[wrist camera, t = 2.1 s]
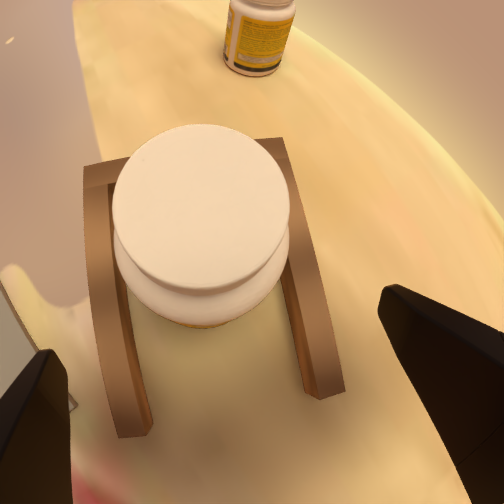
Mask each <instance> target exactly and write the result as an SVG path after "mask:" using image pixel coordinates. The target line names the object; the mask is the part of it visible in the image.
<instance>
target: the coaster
mask: <svg viewBox="0 0 504 504" xmlns="http://www.w3.org/2000/svg"><path fill="white" fill-rule="evenodd" d="M38 351H39V350H38V348H37V347H36V345H35V343H34V342H33V340H32V338H31V337H30V335H29V334H28V332H27V330H26V328H25V327H24V325H23V323H22V322H21V320H20V318H19V316H18V314H17V313H16V311H15V309H14V307H13V305H12V303H11V301H10V300H9V298H8V296H7V294H6V292H5V290H4V288H3V286H2V284H1V282H0V398H1V397H2V396H3V394H4V393H5V392H6V390H7V389H8V388H9V386H10V385H11V384H12V382H13V381H14V380H15V379H16V377H17V376H18V375H19V374H20V372H21V371H22V370H23V369H24V367H25V366H26V365H27V364H28V362H29V361H30V360H31V359H32V357H33V356H34V355H35V354H36V353H37V352H38ZM68 398H69V412H70V411H72V410H73V409H74V408H75V407H76V406H78V405H77V403H76V402H75V401H74V399H73V398H72V397H71V396H70V394H69V393H68Z"/></svg>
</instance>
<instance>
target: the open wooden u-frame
mask: <svg viewBox="0 0 504 504" xmlns="http://www.w3.org/2000/svg"><path fill="white" fill-rule="evenodd" d="M254 140H255V141H256V142H257V143H258V144H260V145H261V146H262V147H263V148H264V149H265V150H266V151H267V152H268V153H269V154H270V155H271V156H272V157H273V159H274V160H275V161H276V163H277V164H278V166H279V168H280V170H281V172H282V174H283V176H284V178H285V181H286V183H287V188H288V192H289V201H290V213H289V221H288V227H289V250H288V256H287V260H286V263H285V266H284V269H283V272H282V274H281V276H280V279H281V283H282V288H283V292H284V296H285V301H286V305H287V310H288V314H289V319H290V323H291V328H292V333H293V337H294V342H295V346H296V351H297V356H298V360H299V365H300V370H301V375H302V379H303V384H304V389H305V393H307V394H309V395H311V396H313V397H315V398H317V399H319V400H321V399H324V398H327V397H330V396H333V395H336V394H339V393H342V392H345V386H344V381H343V376H342V370H341V365H340V361H339V356H338V351H337V346H336V341H335V337H334V332H333V327H332V323H331V318H330V314H329V309H328V305H327V301H326V296H325V292H324V288H323V284H322V280H321V276H320V271H319V267H318V263H317V259H316V255H315V251H314V248H313V244H312V240H311V236H310V232H309V228H308V225H307V221H306V217H305V213H304V210H303V206H302V203H301V199H300V195H299V192H298V188H297V185H296V181H295V178H294V174H293V171H292V168H291V164H290V161H289V157H288V154H287V151H286V148H285V144H284V141H283V138H282V137H279V138H266V139H254ZM129 158H130V157H126V158H121V159H116V160H111V161H106V162H102V163H97V164H93V165H89V166H84V175H83V202H84V203H83V204H84V205H83V206H84V236H85V252H86V265H87V276H88V286H89V295H90V303H91V311H92V318H93V325H94V331H95V338H96V343H97V349H98V355H99V360H100V365H101V370H102V375H103V379H104V384H105V388H106V393H107V397H108V401H109V405H110V409H111V413H112V417H113V420H114V424H115V427H116V431H117V434H118V438H128V437H139V436H146V435H147V433H148V432H149V430H150V428H151V427H152V425H153V421H152V417H151V413H150V409H149V405H148V401H147V397H146V393H145V389H144V384H143V380H142V375H141V371H140V366H139V361H138V356H137V351H136V346H135V341H134V335H133V330H132V324H131V318H130V312H129V305H128V298H127V291H126V284H125V281H124V279H123V277H122V275H121V272H120V270H119V267H118V265H117V261H116V257H115V251H114V228H115V227H114V222H113V214H112V201H113V194H114V190H115V186H116V182H117V180H118V177H119V175H120V173H121V171H122V169H123V167H124V166H125V164H126V162H127V161H128V160H129Z"/></svg>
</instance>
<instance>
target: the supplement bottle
mask: <svg viewBox="0 0 504 504" xmlns="http://www.w3.org/2000/svg"><path fill="white" fill-rule="evenodd" d="M295 11H296V9H295V4H294V3H293V0H230V4H229V12H228V20H227V28H226V37H225V45H224V60H225V62H226V64H227V65H228V66H229V67H230V68H231V69H233V70H235V71H236V72H238V73H241V74H244V75H248V76H263V75H267V74H270V73H272V72H273V71H275V70H276V69H277V68H278V66H279V64H280V62H281V58H282V55H283V51H284V48H285V45H286V41H287V38H288V35H289V32H290V28H291V25H292V22H293V19H294V16H295Z"/></svg>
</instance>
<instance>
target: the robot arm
mask: <svg viewBox="0 0 504 504" xmlns="http://www.w3.org/2000/svg"><path fill="white" fill-rule="evenodd" d="M378 316H379V318H380V321H381V323H382V325H383V327H384V329H385V331H386V334H387V336H388V338H389V340H390V342H391V345H392V347H393V349H394V351H395V354H396V356H397V358H398V360H399V361H400V363H401V365H402V367H403V369H404V370H405V372H406V374H407V376H408V378H409V379H410V381H411V383H412V385H413V386H414V388H415V390H416V392H417V394H418V396H419V397H420V399H421V401H422V403H423V405H424V407H425V408H426V410H427V412H428V414H429V416H430V418H431V420H432V422H433V424H434V426H435V427H436V429H437V431H438V433H439V435H440V437H441V439H442V441H443V443H444V445H445V447H446V449H447V451H448V453H449V455H450V457H451V459H452V461H453V463H454V465H455V467H456V470H457V472H458V474H459V476H460V479H461V481H462V483H463V485H464V487H465V489H466V492H467V494H468V496H469V498H470V500H471V503H472V504H503V503H504V333H503V332H501V331H498V330H497V329H494V328H492V327H490V326H488V325H486V324H484V323H482V322H480V321H477V320H475V319H473V318H471V317H469V316H467V315H465V314H462V313H460V312H458V311H456V310H454V309H452V308H449V307H447V306H445V305H443V304H441V303H439V302H436V301H434V300H432V299H430V298H428V297H425V296H423V295H421V294H419V293H416V292H414V291H412V290H410V289H408V288H405V287H403V286H401V285H398V284H393V285H389V286H386V287H384V288H383V290H382V293H381V297H380V301H379V305H378ZM0 504H73V498H72V483H71V456H70V414H69V398H68V376H67V372H66V369H65V367H64V366H63V364H62V363H61V361H60V359H59V358H58V356H57V355H56V353H55V352H54V351H53V350H52V349H44V350H39V351H38V352H37V353H36V354H35V355H34V356H33V357H32V359H31V360H30V361H29V362H28V364H27V365H26V366H25V367H24V369H23V370H22V371H21V372H20V374H19V375H18V376H17V377H16V379H15V380H14V381H13V382H12V384H11V385H10V386H9V388H8V389H7V390H6V392H5V393H4V394H3V396H2V397H1V398H0Z"/></svg>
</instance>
